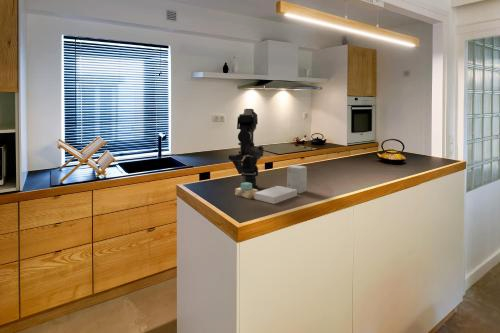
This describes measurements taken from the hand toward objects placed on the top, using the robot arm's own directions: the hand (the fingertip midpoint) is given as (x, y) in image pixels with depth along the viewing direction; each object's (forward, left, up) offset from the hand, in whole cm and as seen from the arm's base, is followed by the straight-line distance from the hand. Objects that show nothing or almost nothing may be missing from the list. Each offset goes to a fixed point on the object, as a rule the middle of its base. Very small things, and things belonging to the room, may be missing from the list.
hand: (246, 172), depth 155 cm
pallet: (0, 0, -12) cm, 12 cm away
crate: (0, 0, -8) cm, 8 cm away
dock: (+13, +7, -12) cm, 19 cm away
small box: (+14, +23, -12) cm, 29 cm away
